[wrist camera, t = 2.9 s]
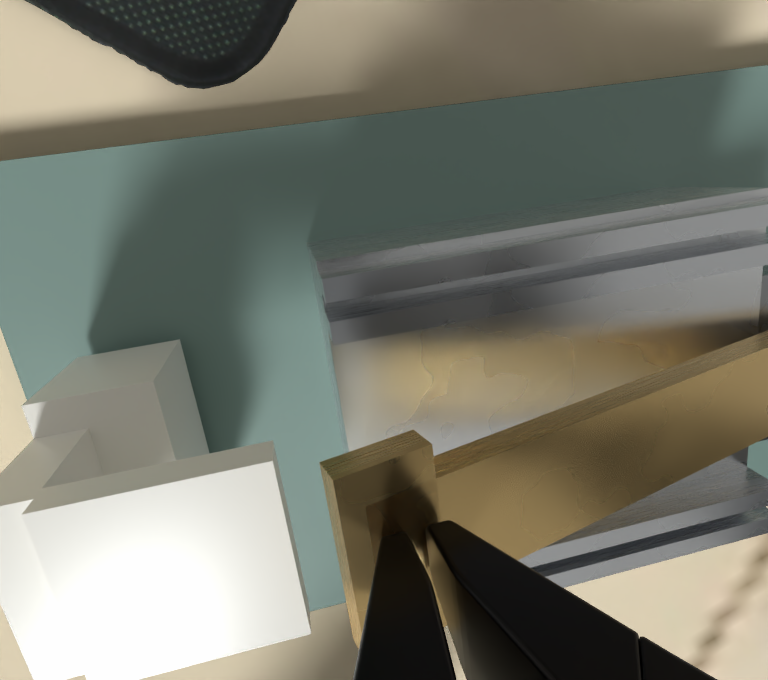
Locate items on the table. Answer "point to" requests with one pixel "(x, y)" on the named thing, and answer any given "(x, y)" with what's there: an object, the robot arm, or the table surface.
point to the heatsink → (552, 340)
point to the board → (316, 223)
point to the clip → (141, 528)
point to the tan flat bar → (546, 465)
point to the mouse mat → (180, 33)
